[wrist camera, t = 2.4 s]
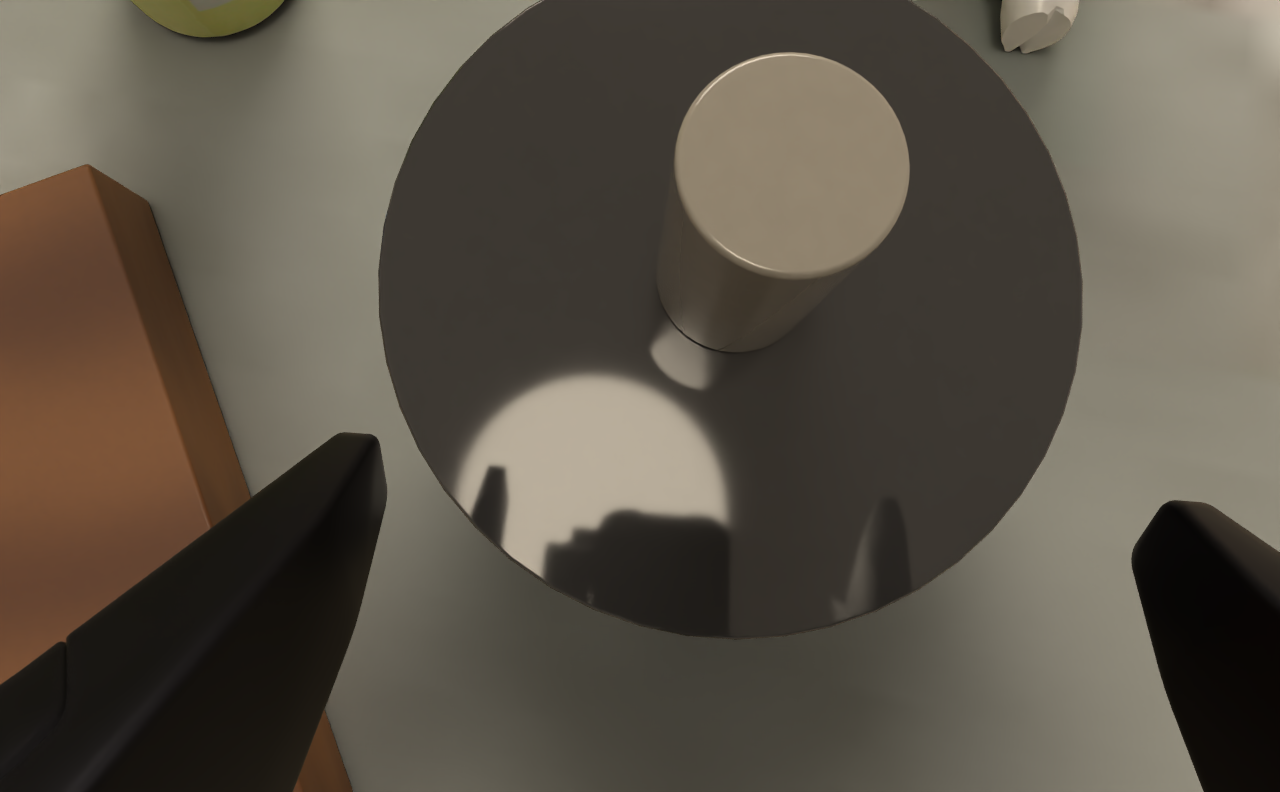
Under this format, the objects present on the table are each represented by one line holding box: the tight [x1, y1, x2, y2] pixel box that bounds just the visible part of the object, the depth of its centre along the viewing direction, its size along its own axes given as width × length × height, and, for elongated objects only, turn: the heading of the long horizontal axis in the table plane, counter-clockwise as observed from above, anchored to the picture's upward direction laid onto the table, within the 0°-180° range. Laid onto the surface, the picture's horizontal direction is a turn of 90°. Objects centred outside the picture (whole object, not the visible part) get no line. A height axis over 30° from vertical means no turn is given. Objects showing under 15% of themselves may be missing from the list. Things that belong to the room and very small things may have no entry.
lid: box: [378, 0, 1083, 640], centre depth 13 cm, size 13×13×6 cm
